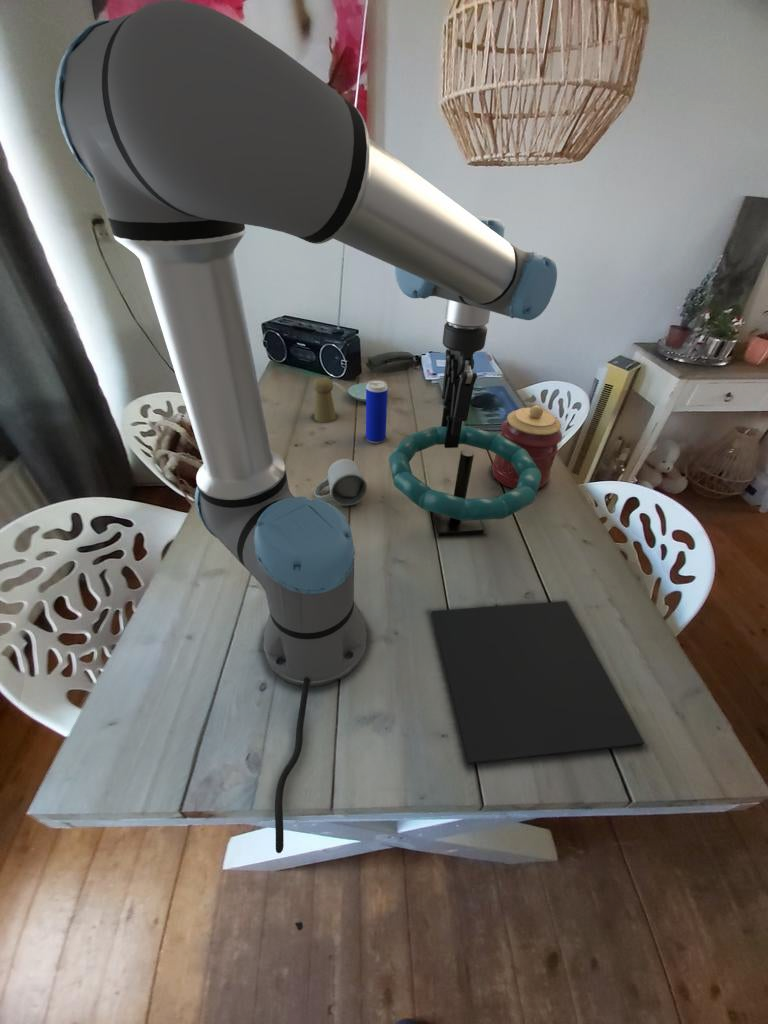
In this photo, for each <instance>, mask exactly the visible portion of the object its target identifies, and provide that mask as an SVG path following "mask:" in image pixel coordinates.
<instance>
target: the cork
mask: <svg viewBox="0 0 768 1024" xmlns="http://www.w3.org/2000/svg"><path fill="white" fill-rule="evenodd" d="M312 385H313V386H312V387H313V390H314V391H315V399H314V416H313V418H314V420H315V421H317V422H319V423H330V422H333V421H335V420H336V418H337V416H336V411H335V405H334V400H333V395H332V390H333V389H334V383H333V381H332V379H331V378H328V377H324V376H323V377H317V378H316V379H314V381H313V384H312Z"/></svg>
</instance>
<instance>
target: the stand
mask: <svg viewBox="0 0 768 1024" xmlns="http://www.w3.org/2000/svg"><path fill="white" fill-rule="evenodd" d="M474 457H475V452H474V451H473V450H471V449H462V450H461V451H460V454H459V461H458V467H457V473H456V479H455V484H454V492H453V496H457V497H460V498H464V499H467V495H468V488H469V483H470V478H471V473H472V467H473V461H474ZM430 514H431V517H432V520H433V524H434V527H435V530H436V533H437V537H439V538H442V537H443V538H444V537H457V536H458V537H460V536H477V535H478V536H479V535H484V531H485V529H484V527H483V524H482V523H481V520H469V521H461V520H457V519H454V518H451V517H448V516H444V515H441V514H438V513H434V512H431V511H430Z"/></svg>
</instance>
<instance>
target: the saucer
mask: <svg viewBox="0 0 768 1024" xmlns="http://www.w3.org/2000/svg"><path fill="white" fill-rule="evenodd" d="M367 384H368V382H361V383H355V384H354V385H351V386H349V388H348V389H347V392H348V394H349V395H350V396H351V397H352V398H353V399H355V400H356V401H359V402H362V403H366V386H367Z"/></svg>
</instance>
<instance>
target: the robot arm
mask: <svg viewBox="0 0 768 1024" xmlns="http://www.w3.org/2000/svg"><path fill="white" fill-rule="evenodd" d="M54 84H55V85H54V89H55V90H54V99H55V109H56V114H57V118H58V119H57V120H58V122H59V126H60V129H61V132H62V134H63V137H64V139H65V143H66V144H67V146H68V148H69V150H70V151H71V153H72V155H73V156H74V157H75V160H76V161H77V163H78V164H79V165H80V167H81V169H82V170H83V172H85V174H86V175H87V176H88V177H89V178H90V180H91V181H92V182H93V183H94V184H95V185H96V189H97V191H98V194H99V196H100V200H101V202H102V206H103V209H104V211H105V215H106V217H107V220H108V223H109V225H110V228H111V232H112V235H113V239H114V240H115V241H117V242H118V243H119V244H121V245H122V246H124V247H125V248H126V249H128V250H129V251H131V252H132V253H133V254H134V255H135V256H136V257H137V258H138V259H139V261H140V264H141V265H140V266H141V267H142V271H143V274H144V277H145V280H146V284H147V287H148V290H149V294H150V296H151V299H152V300H151V301H152V303H153V306H154V310H155V312H156V316H157V319H158V322H159V325H160V329H161V332H162V335H163V338H164V342H165V344H166V345H165V346H166V348H167V351H168V354H169V358H170V362H171V364H172V367H173V371H174V373H175V377H176V380H177V382H178V386H179V389H180V392H181V396H182V399H183V403H184V406H185V409H186V412H187V415H188V418H189V422H190V424H191V428H192V431H193V434H194V438H195V440H196V443H197V447H198V450H199V453H200V456H201V460H202V463H203V464H202V465H201V466H200V467H199V469H198V471H197V473H196V477H195V480H196V481H195V482H196V485H197V486H196V487H195V491H194V506H195V510H196V514H197V515H198V517H199V519H200V521H201V523H202V524H203V526H204V527H205V529H206V530H207V531H208V532H209V533H210V534H211V535H212V536H213V537H214V538H216V539H218V541H219V542H220V543H221V544H222V545H223V546H224V547H225V548H226V549H227V550H228V551H229V552H230V553H231V554H232V555H233V556H234V558H235V559H236V560H237V561H238V562H239V563H240V564H241V566H243V567H244V568H245V569H246V571H247V572H248V573H250V575H251V576H252V577H253V578H254V579H255V580H256V581H257V582H258V583H259V584H260V586H261V587H262V588H263V591H264V593H265V597H266V601H267V605H268V610H269V614H268V618H267V621H266V625H265V627H264V632H263V650H264V654H265V659H266V661H267V663H268V665H269V667H270V668H271V670H272V671H273V672H274V673H275V674H276V676H278V677H279V678H280V679H282V680H283V681H285V682H287V683H288V684H292V685H295V686H299V687H302V688H301V689H302V690H301V694H300V695H301V696H300V702H299V709H298V715H297V723H296V729H295V745H294V749H293V753H292V755H291V758H290V759H289V760H288V762H287V764H286V765H285V767H284V769H283V770H282V772H281V774H280V775H279V779H278V781H277V785H276V789H275V795H274V796H275V798H274V825H275V852H276V853H277V854H281V853H282V852H283V851H284V847H285V846H284V843H285V842H284V813H283V797H284V790H285V785H286V782H287V779H288V776H289V774H290V773H291V771H292V770H293V768H294V767H295V765H296V764H297V762H298V760H299V758H300V755H301V753H302V747H303V739H304V725H305V716H306V709H307V703H308V696H309V689H310V688H315V687H323V686H327V685H331V684H334V683H335V682H338V681H340V680H341V679H343V678H344V677H346V676H348V675H349V674H350V673H351V672H353V670H354V669H356V667H357V666H358V665H359V664H360V662H361V661H362V658H363V656H364V654H365V652H366V648H367V640H368V639H367V638H368V637H367V635H368V633H367V632H368V631H367V626H366V622H365V619H364V616H363V614H362V612H361V610H360V608H359V607H358V605H357V603H356V600H355V554H356V553H355V552H356V551H355V544H354V540H353V534H352V530H351V526H350V523H349V522H348V520H347V518H346V517H345V515H344V514H343V513H342V512H341V511H340V510H339V509H338V508H337V507H336V506H334V505H333V504H331V503H330V502H328V501H326V502H325V501H323V500H320V499H317V498H316V497H315V498H313V499H311V500H309V498H308V496H294V495H293V494H292V492H291V489H290V487H289V486H290V485H289V482H288V481H289V480H288V476H287V469H286V465H285V461H284V460H283V458H282V457H281V455H279V454H278V453H276V452H275V451H272V450H271V447H270V446H271V445H270V440H269V434H268V429H267V423H266V417H265V414H264V408H263V403H262V399H261V392H260V388H259V387H260V386H259V382H258V377H257V371H256V364H255V361H254V355H253V351H252V345H251V344H252V343H251V338H250V333H249V328H248V323H247V317H246V312H245V308H244V303H243V296H242V290H241V286H240V280H239V275H238V270H237V264H236V259H235V250H236V248H237V247H238V245H239V244H240V242H241V240H242V239H243V238H244V236H245V234H246V225H247V226H252V227H253V226H254V227H259V228H264V229H269V230H273V231H276V232H281V233H285V234H287V235H290V236H293V237H296V238H299V239H301V240H302V241H305V242H308V243H310V244H315V245H320V244H324V243H327V242H329V241H332V240H336V241H338V242H340V243H341V244H345V245H346V246H348V247H351V248H353V249H355V250H357V251H360V252H362V253H364V254H366V255H369V256H371V257H373V258H375V259H378V260H380V261H382V262H384V263H386V264H389V265H391V266H393V267H395V268H394V269H395V270H394V276H395V280H396V283H397V285H398V287H399V289H400V290H401V292H402V294H404V295H405V296H407V297H408V298H410V299H424V300H425V299H427V298H429V297H437V298H441V299H444V300H446V306H445V314H444V319H445V321H446V322H445V323H444V325H443V334H442V345H443V346H444V347H445V348H446V349H445V362H444V363H445V364H444V366H445V367H444V372H443V383H442V389H441V400H442V405H443V409H442V416H441V423H440V424H441V425H440V427H447V430H446V437H445V444H443V446H444V449H458V448H459V445H460V444H459V439H460V433H461V426H462V425H463V422H467V421H468V419H469V418H468V417H469V412H470V407H471V401H472V397H473V391H474V388H475V387H474V386H475V383H476V381H477V378H478V374H477V373H478V372H476V371H474V372H473V370H474V368H475V359H474V354H475V353H476V352H480V351H481V350H483V349H484V348H485V346H486V341H487V335H488V327H487V325H488V324H489V321H490V315H491V312H493V313H495V314H499V315H502V316H506V317H509V318H510V319H519V320H523V321H532V320H535V319H537V318H538V317H540V316H541V315H542V314H543V313H544V312H545V310H546V309H547V307H548V305H549V304H550V302H551V299H552V298H553V295H554V292H555V289H556V286H557V280H558V269H557V264H556V262H555V260H554V259H553V257H550V256H548V255H543V254H540V253H538V252H537V251H532V252H531V251H524V250H521V249H519V248H518V247H517V246H515V245H514V244H512V243H511V242H509V241H508V240H506V239H504V238H505V229H506V227H505V223H504V221H503V220H501V219H500V218H495V217H489V216H478V215H476V216H475V215H473V214H471V213H470V212H469V211H467V210H466V209H464V207H462V206H461V205H460V204H458V203H457V202H455V201H454V200H453V199H451V198H450V197H449V196H447V195H446V194H445V193H443V191H441V190H439V189H438V188H436V187H435V186H434V185H433V184H432V183H430V182H429V181H427V180H426V179H425V178H423V177H422V176H421V175H420V174H418V173H417V172H416V171H414V170H413V169H412V168H410V167H409V166H407V165H406V164H405V163H404V162H402V161H401V160H399V159H398V158H397V157H395V155H393V154H391V153H390V152H389V151H387V150H386V149H385V148H383V147H382V146H381V145H379V144H378V143H376V141H374V140H372V139H371V138H370V135H369V131H368V127H367V124H366V121H365V119H364V117H363V115H362V113H361V111H360V110H359V109H358V108H357V107H356V106H355V105H353V104H352V103H351V102H350V101H348V100H347V99H346V98H344V96H342V95H341V94H340V93H339V92H338V91H336V90H335V89H334V88H332V87H331V86H330V85H329V84H328V83H326V82H325V81H324V80H323V79H321V78H320V77H318V76H317V75H316V74H315V73H313V72H312V71H310V70H309V69H308V68H307V67H305V66H304V65H302V64H301V63H300V62H298V61H297V60H296V59H294V58H293V57H292V56H291V55H289V54H288V53H287V52H285V51H284V50H282V49H281V48H280V47H278V46H276V45H275V44H273V43H272V42H270V41H269V40H267V39H266V38H265V37H263V36H261V35H260V34H259V33H257V32H255V31H254V30H252V29H251V28H249V27H248V26H246V25H245V24H243V23H241V22H239V21H238V20H236V19H234V18H232V17H230V16H228V15H227V14H224V13H222V12H220V11H218V10H216V9H214V8H211V7H208V6H206V5H204V4H199V3H194V2H191V1H186V0H159V1H155V2H153V3H149V4H147V5H145V6H143V7H140V8H138V9H137V10H136V11H135V12H132V13H127V14H124V15H122V16H119V17H115V18H113V19H109V20H108V19H103V20H100V21H98V22H95V23H93V24H91V25H89V26H86V28H84V29H83V30H82V31H81V32H80V33H79V34H78V35H76V36H75V38H73V40H72V41H71V42H70V44H69V45H68V48H67V50H66V51H65V52H64V54H63V56H62V58H61V60H60V63H59V65H58V68H57V71H56V76H55V83H54ZM294 924H295V926H296V928H297V930H298V931H302V930H303V928H304V925H303V922H302V921H298V922H294Z"/></svg>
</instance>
